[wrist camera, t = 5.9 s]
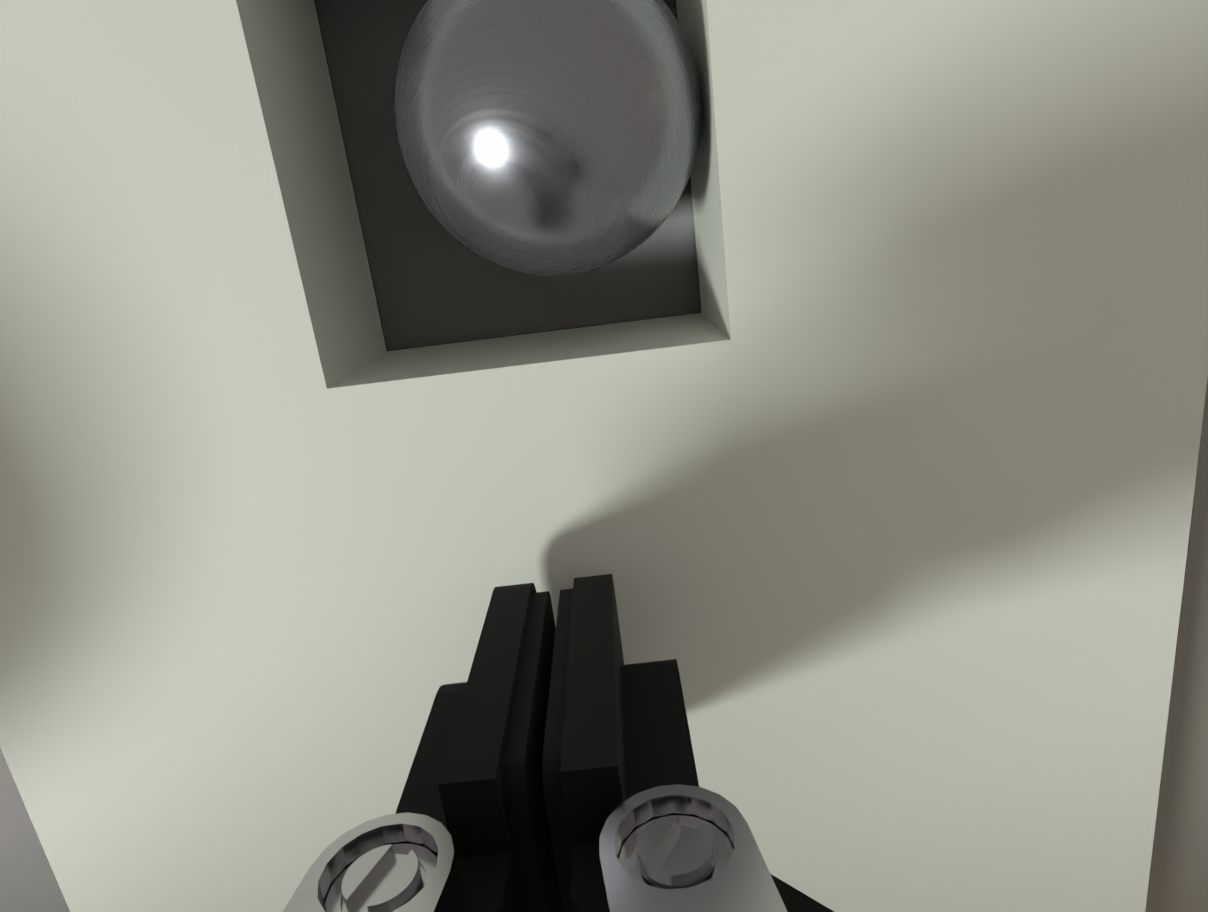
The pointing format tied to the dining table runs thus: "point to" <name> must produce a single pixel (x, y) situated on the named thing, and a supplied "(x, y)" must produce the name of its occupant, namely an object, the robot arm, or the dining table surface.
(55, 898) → the dining table surface
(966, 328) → the hole board
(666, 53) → the steel ball
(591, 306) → the dining table surface
